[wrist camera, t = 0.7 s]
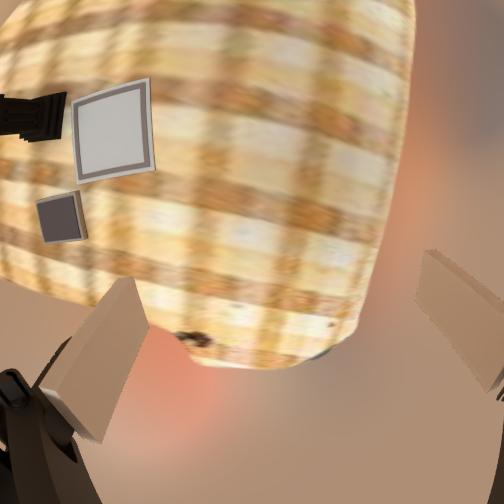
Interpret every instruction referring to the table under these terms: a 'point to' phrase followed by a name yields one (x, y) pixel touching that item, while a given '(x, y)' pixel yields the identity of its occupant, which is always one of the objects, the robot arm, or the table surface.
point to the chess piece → (33, 117)
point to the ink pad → (61, 218)
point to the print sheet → (113, 132)
